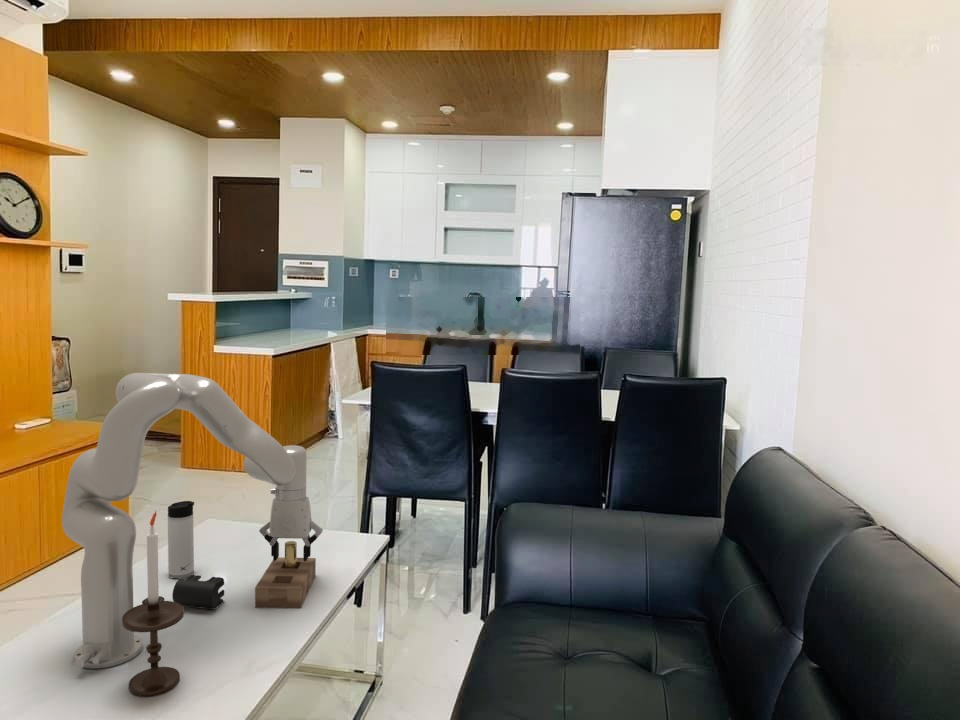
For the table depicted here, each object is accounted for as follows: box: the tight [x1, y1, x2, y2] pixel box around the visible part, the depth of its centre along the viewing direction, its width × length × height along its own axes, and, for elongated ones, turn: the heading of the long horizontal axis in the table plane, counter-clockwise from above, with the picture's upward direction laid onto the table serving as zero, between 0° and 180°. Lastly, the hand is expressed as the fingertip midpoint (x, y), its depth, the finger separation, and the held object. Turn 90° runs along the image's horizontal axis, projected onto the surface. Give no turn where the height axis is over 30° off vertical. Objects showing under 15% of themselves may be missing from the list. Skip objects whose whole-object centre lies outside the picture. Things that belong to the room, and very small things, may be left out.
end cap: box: [172, 574, 225, 610], centre depth 168 cm, size 10×7×7 cm
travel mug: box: [167, 500, 195, 579], centre depth 185 cm, size 6×7×20 cm
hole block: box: [254, 556, 317, 609], centre depth 178 cm, size 19×11×5 cm, turn 3°
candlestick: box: [122, 510, 185, 698], centre depth 134 cm, size 11×11×35 cm
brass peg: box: [284, 540, 298, 569], centre depth 182 cm, size 3×3×11 cm
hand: (291, 558), depth 182 cm, fingers open, 7 cm apart
